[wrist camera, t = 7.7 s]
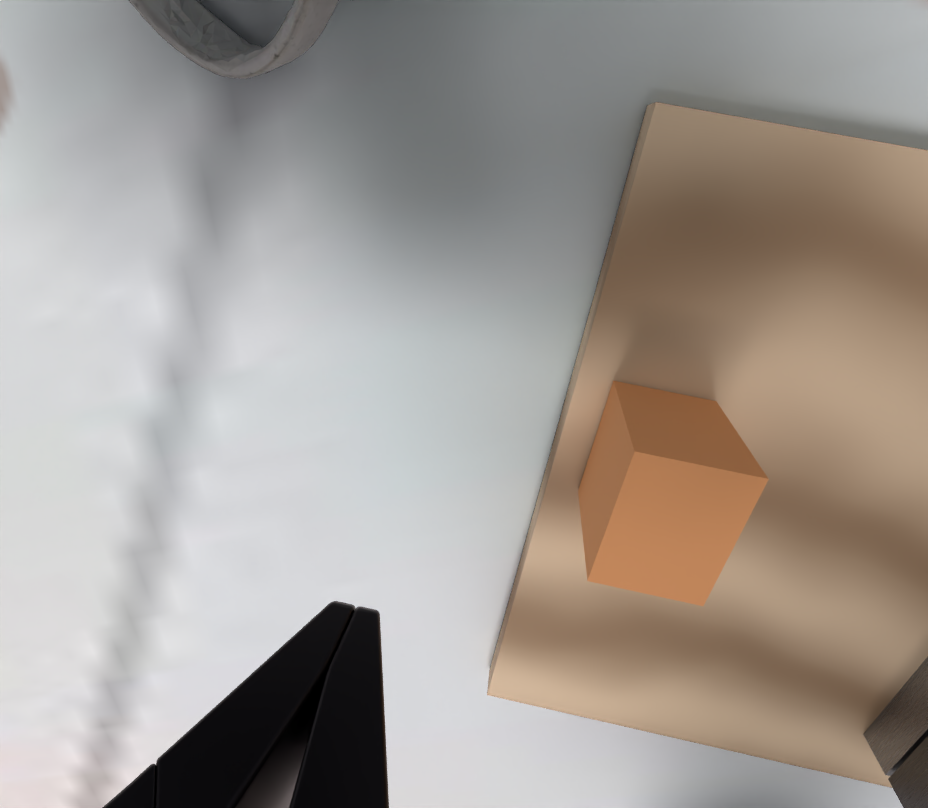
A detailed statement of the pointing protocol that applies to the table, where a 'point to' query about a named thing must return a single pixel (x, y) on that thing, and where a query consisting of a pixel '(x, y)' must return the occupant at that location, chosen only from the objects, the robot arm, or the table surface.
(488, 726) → the table surface
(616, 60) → the table surface
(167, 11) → the ceramic mug
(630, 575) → the tan rectangular block
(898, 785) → the tongs upper
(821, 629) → the serving board
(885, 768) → the tongs lower
